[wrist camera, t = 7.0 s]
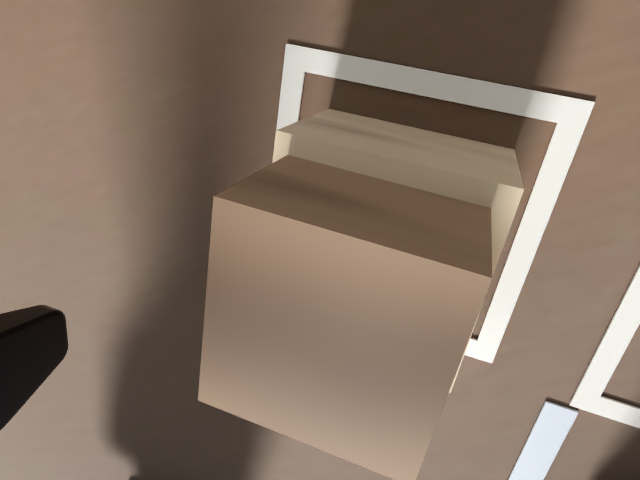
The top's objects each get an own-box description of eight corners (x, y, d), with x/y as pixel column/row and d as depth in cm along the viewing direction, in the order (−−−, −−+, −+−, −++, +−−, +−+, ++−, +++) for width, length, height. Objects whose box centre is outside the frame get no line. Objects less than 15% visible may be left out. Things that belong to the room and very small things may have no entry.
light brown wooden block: (431, 376, 14) (413, 486, 11) (264, 318, 15) (197, 400, 12) (491, 208, 12) (492, 278, 8) (287, 154, 13) (213, 195, 9)
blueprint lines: (765, 602, 19) (766, 605, 19) (245, 404, 24) (244, 405, 24) (1153, 207, 12) (1157, 208, 11) (287, 43, 17) (286, 43, 17)
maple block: (459, 310, 19) (450, 392, 14) (305, 263, 20) (253, 325, 16) (514, 148, 16) (524, 189, 11) (330, 107, 17) (276, 130, 13)
